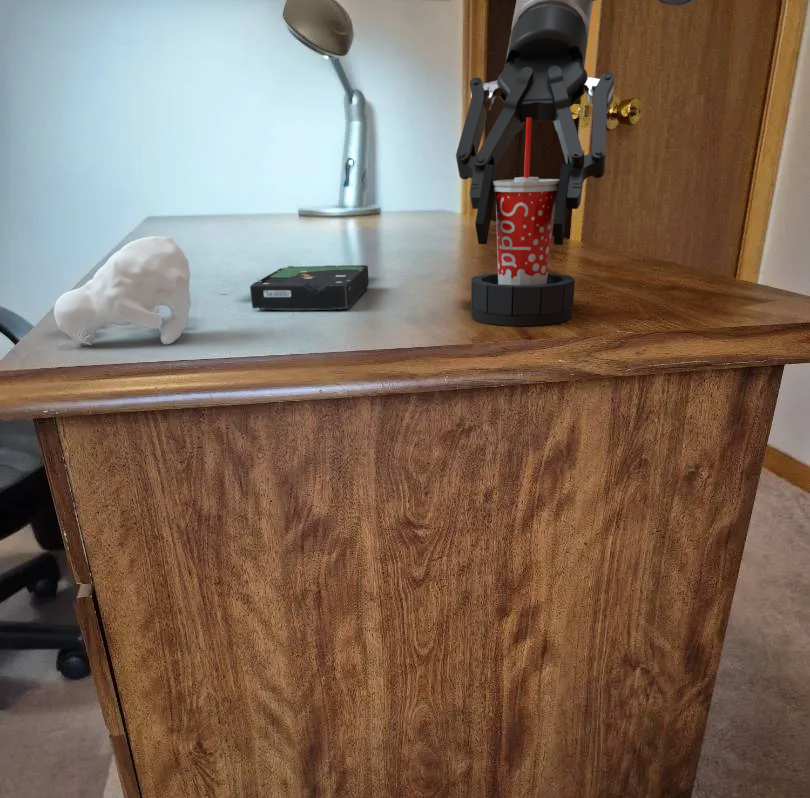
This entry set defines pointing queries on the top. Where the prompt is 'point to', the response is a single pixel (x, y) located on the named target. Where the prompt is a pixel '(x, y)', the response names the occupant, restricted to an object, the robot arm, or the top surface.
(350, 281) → the disk drive
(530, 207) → the beverage cup
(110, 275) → the white lumpy figure
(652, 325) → the top surface
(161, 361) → the top surface
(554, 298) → the segmented ring
